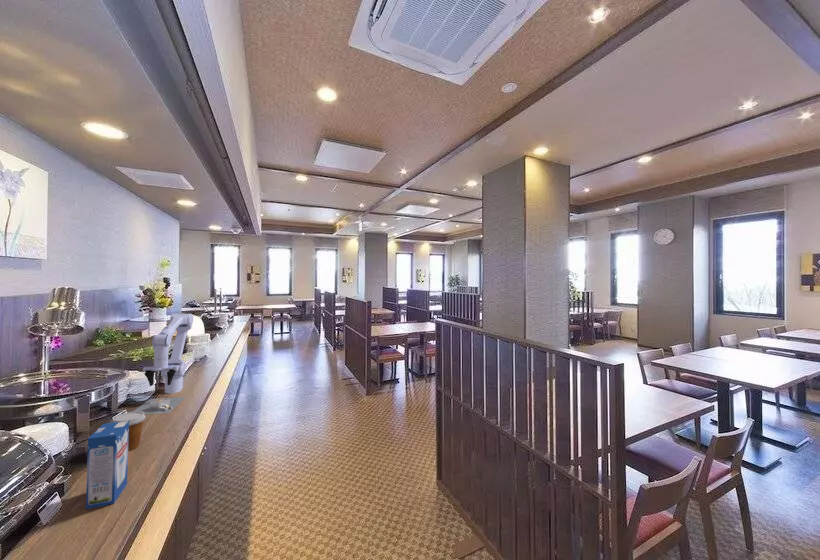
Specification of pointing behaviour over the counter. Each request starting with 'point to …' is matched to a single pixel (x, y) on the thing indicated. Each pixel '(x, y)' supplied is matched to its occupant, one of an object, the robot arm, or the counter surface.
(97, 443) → the milk carton
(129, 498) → the counter surface
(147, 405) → the base plate
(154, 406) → the metal bracket with prongs
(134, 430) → the disposable coffee cup
